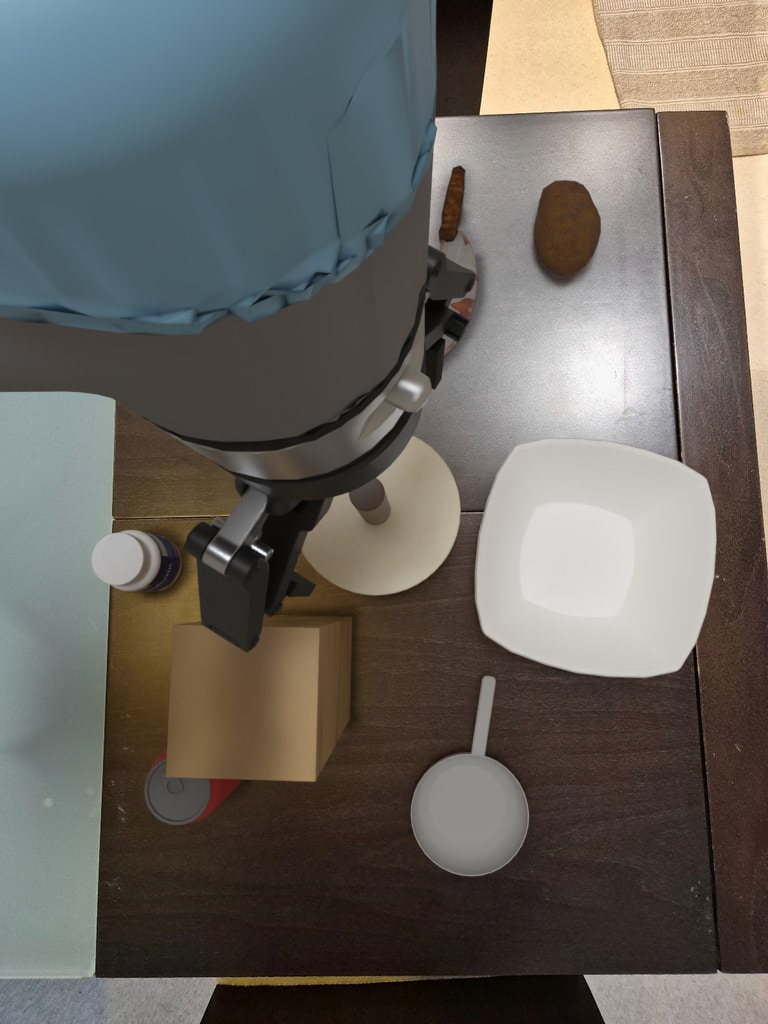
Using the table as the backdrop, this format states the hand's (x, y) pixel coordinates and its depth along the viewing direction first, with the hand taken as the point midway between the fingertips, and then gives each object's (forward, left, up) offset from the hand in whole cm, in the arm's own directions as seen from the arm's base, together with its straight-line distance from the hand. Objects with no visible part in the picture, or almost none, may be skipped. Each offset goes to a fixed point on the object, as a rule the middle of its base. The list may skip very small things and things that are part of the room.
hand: (356, 474), depth 41 cm
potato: (+18, +30, -33) cm, 48 cm away
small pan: (+9, -23, -33) cm, 41 cm away
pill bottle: (-23, -4, -33) cm, 40 cm away
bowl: (+19, -3, -33) cm, 38 cm away
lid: (0, 0, -18) cm, 18 cm away
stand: (-8, -14, -33) cm, 36 cm away
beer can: (-16, -23, -33) cm, 43 cm away
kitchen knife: (+7, +27, -33) cm, 43 cm away
